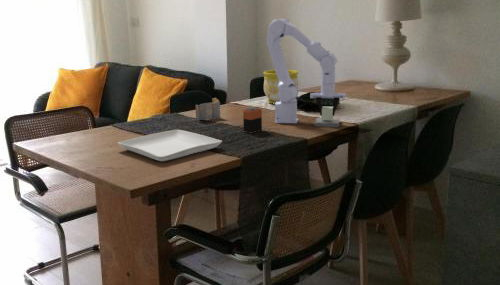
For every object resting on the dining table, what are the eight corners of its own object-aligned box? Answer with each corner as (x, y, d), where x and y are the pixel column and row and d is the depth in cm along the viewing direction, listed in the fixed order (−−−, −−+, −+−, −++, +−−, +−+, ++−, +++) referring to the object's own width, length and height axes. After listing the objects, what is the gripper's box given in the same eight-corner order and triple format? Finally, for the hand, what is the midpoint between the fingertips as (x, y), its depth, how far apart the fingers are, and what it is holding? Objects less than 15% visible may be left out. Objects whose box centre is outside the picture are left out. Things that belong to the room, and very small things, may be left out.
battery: (243, 132, 206) (242, 108, 204) (254, 129, 211) (254, 105, 209) (250, 133, 204) (250, 109, 201) (262, 130, 208) (262, 106, 206)
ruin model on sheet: (216, 117, 237) (216, 97, 234) (220, 118, 235) (219, 98, 232) (195, 121, 231) (194, 100, 228) (199, 122, 228) (198, 101, 226)
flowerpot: (259, 105, 264) (259, 73, 260) (269, 99, 280) (268, 69, 276) (293, 106, 258) (293, 74, 254) (301, 100, 275) (301, 69, 271)
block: (321, 120, 216) (321, 108, 215) (322, 117, 220) (322, 106, 219) (332, 120, 215) (332, 108, 214) (332, 118, 219) (333, 106, 218)
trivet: (314, 126, 214) (314, 122, 214) (316, 121, 223) (316, 117, 223) (338, 127, 212) (338, 123, 212) (339, 121, 221) (339, 118, 221)
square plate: (116, 151, 183) (115, 141, 182) (178, 137, 201) (177, 128, 200) (160, 166, 164) (159, 155, 163) (224, 149, 183) (223, 139, 182)
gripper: (345, 82, 216) (344, 113, 219) (311, 81, 218) (311, 112, 222) (345, 84, 209) (344, 117, 212) (309, 84, 212) (309, 116, 215)
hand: (327, 115), depth 217 cm, fingers closed on block, 4 cm apart
